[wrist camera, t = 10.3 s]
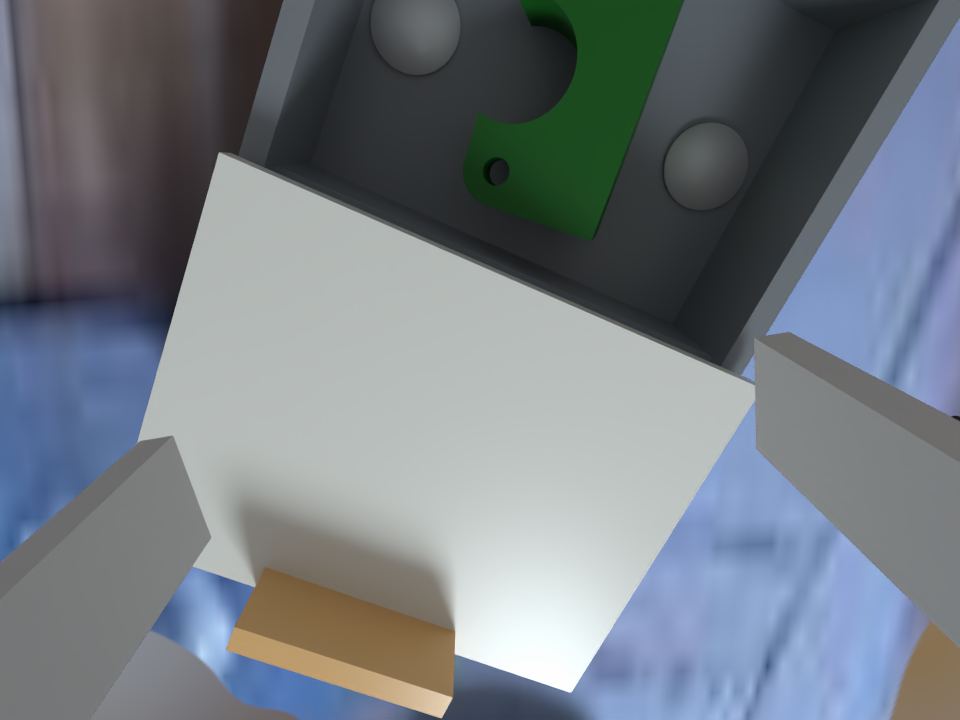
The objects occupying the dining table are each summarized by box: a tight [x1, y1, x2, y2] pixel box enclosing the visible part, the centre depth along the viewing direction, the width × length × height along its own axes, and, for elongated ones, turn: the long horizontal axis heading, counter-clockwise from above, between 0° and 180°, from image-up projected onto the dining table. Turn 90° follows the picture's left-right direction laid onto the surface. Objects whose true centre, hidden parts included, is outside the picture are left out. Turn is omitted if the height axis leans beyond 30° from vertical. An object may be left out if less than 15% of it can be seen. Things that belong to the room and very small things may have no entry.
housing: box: [238, 0, 960, 375], centre depth 27 cm, size 22×33×8 cm, turn 156°
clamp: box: [463, 0, 684, 241], centre depth 25 cm, size 12×6×9 cm, turn 156°
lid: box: [137, 152, 755, 718], centre depth 23 cm, size 22×17×4 cm
